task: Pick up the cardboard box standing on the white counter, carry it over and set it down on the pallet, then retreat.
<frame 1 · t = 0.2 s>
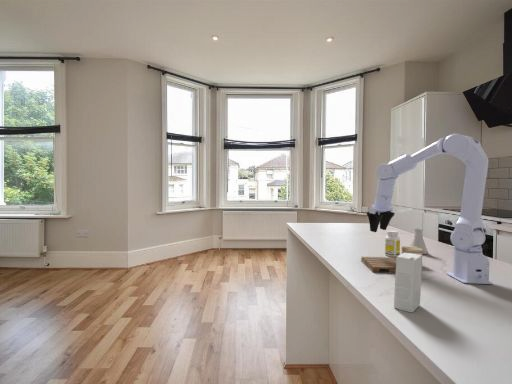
hand: (378, 230, 118), 11 cm above the worktop, tool pointing down, fingers open, 7 cm apart
skincare box: (407, 308, 71), on the worktop
flask: (417, 253, 129), on the worktop
pallet: (384, 267, 106), on the worktop
supplement bottle: (392, 256, 123), on the worktop
cardboard box: (411, 264, 110), on the worktop
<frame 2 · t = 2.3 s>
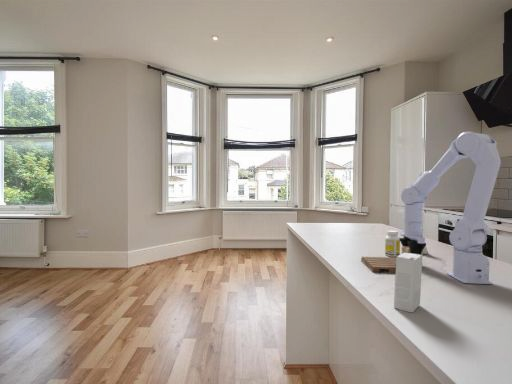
hand: (411, 259, 110), 2 cm above the worktop, tool pointing down, fingers closed on cardboard box, 5 cm apart
cardboard box: (411, 264, 110), on the worktop, touching gripper
everything else where it was.
when the fingers open (4 cm above the worktop, at t = 5.8 s): cardboard box stays where it is, resting on pallet.
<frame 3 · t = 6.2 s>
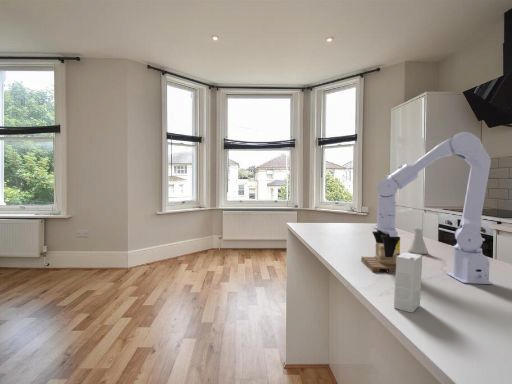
hand: (385, 254, 105), 4 cm above the worktop, tool pointing down, fingers open, 7 cm apart
cardboard box: (385, 261, 106), point 2 cm above the worktop, touching pallet
everything else where it was.
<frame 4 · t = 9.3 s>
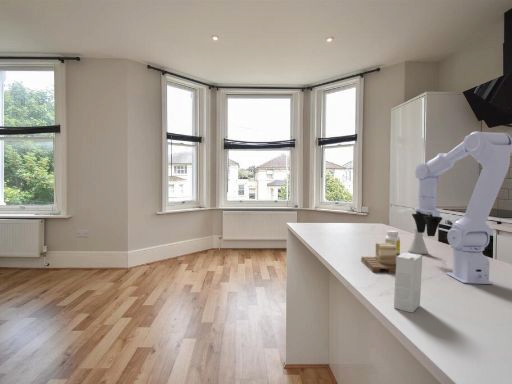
hand: (425, 234, 112), 10 cm above the worktop, tool pointing down, fingers open, 7 cm apart
nothing on the worktop moved.
at the end: cardboard box inside the target area on the pallet (0.1 cm from its centre), point 1.8 cm above the pallet's base; cardboard box tilted 0°; the gripper is holding nothing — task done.
